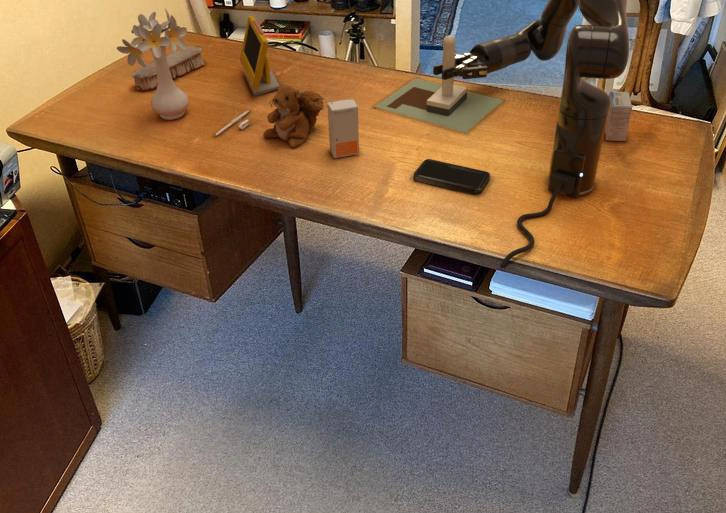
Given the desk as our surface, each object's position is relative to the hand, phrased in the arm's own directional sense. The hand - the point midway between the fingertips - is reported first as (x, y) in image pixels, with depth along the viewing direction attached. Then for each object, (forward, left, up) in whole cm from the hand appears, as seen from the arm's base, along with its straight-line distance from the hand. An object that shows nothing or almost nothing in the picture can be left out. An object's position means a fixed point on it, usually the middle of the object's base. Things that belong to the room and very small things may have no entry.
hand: (438, 73), depth 170 cm
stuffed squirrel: (-29, +22, -10) cm, 37 cm away
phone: (-27, -19, -9) cm, 34 cm away
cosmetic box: (-30, +7, -10) cm, 32 cm away
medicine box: (+10, -41, -10) cm, 43 cm away
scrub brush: (+3, -1, -9) cm, 10 cm away
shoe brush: (-21, +74, -10) cm, 77 cm away
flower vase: (-38, +55, -10) cm, 67 cm away
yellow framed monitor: (-12, +48, -10) cm, 50 cm away
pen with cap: (-33, +37, -10) cm, 50 cm away
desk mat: (+2, +1, -9) cm, 10 cm away
